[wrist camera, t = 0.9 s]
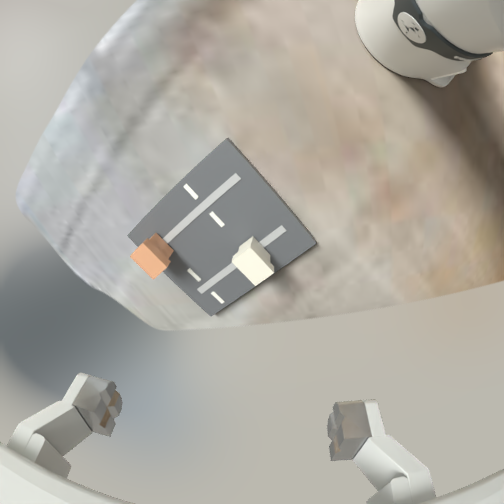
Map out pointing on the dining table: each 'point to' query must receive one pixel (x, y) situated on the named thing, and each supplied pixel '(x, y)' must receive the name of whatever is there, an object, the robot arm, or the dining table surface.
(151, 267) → the terracotta fader
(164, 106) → the dining table surface
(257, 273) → the cream fader
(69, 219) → the dining table surface
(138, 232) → the console
